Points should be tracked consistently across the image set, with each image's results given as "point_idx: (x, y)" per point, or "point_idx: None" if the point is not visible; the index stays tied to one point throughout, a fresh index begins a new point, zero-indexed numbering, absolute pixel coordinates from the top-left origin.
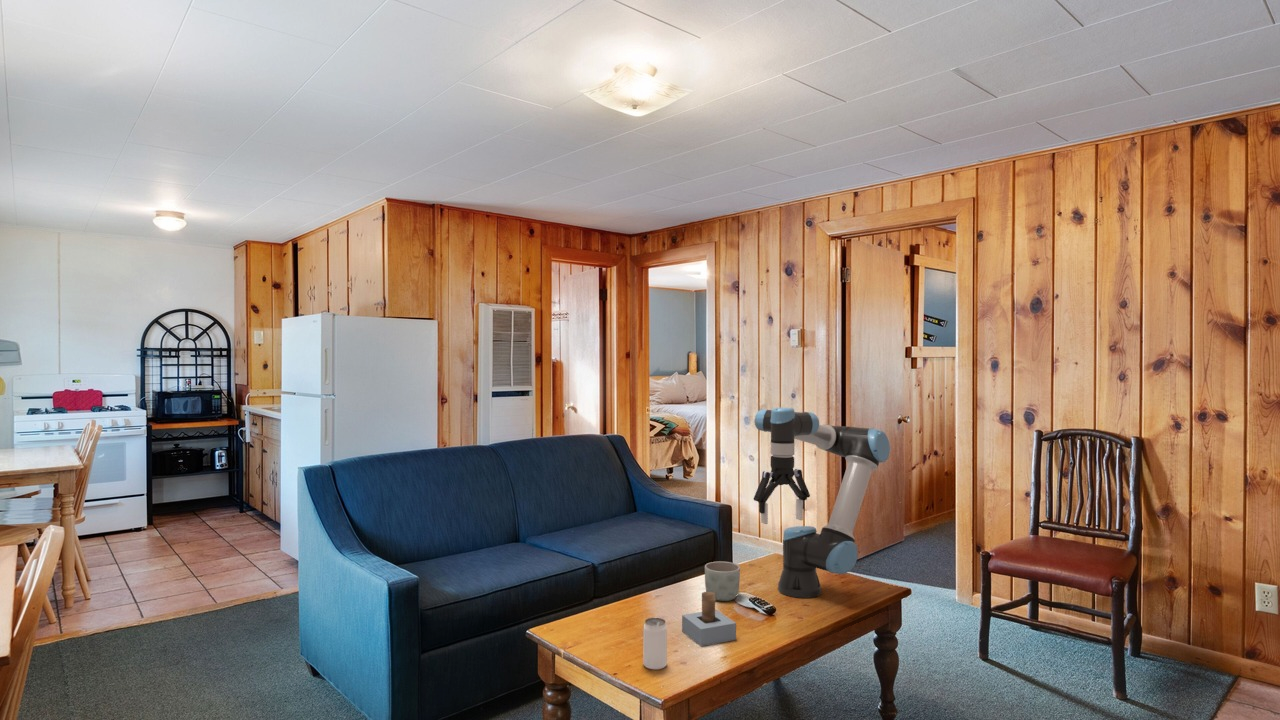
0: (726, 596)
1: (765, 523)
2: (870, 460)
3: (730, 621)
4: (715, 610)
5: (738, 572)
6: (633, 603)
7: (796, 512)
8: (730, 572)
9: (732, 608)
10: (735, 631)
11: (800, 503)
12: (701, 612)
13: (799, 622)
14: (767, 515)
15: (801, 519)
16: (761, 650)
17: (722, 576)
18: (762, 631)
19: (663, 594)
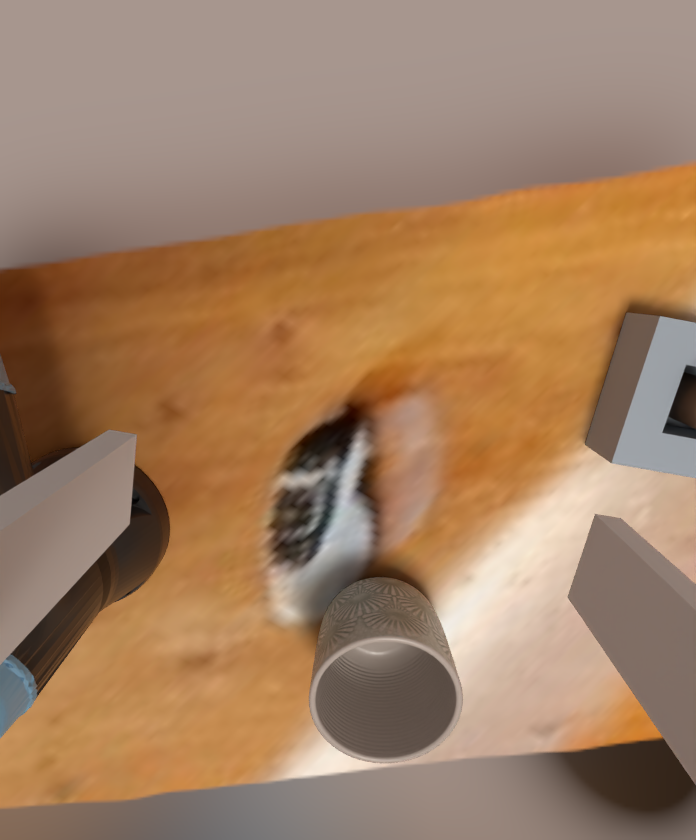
0: (408, 585)
1: (622, 526)
2: None
3: (665, 340)
4: (620, 456)
5: (354, 634)
6: None
7: (95, 551)
8: (406, 636)
9: (424, 526)
10: (644, 314)
11: (5, 542)
12: (677, 469)
13: (319, 301)
14: (654, 566)
15: (124, 435)
16: (629, 190)
17: (434, 640)
18: (495, 315)
19: (523, 729)
